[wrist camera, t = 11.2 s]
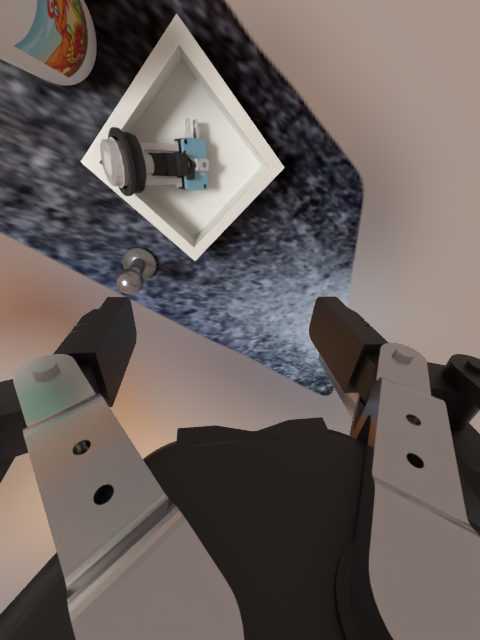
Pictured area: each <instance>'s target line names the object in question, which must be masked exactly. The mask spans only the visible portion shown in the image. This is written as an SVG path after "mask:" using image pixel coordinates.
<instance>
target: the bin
mask: <svg viewBox="0 0 480 640" xmlns="http://www.w3.org/2000/svg"><path fill="white" fill-rule="evenodd" d="M186 118H189V119H190V131H191V136H192V138H193V133H194V132H193V120H194V119H197V122H198V132H199V139H204V140H205V142H206V159H208V161H209V170H208V171H207V180H208V188H207V189H206V190H184V189H179V187H176V186H175V184H173V185H145V190H144V191H143V192H142V193H133V195H132V196H125V195H123V194H122V192H121V191H120V189H119V187H118V186H112V185H111V184H110V183H109V181H108V179H107V177H106V175H105V171H104V168H103V165H102V159H101V154H100V143H101V140H102V139H108V134H109V130H110V128H112V127H117V128H119V129H120V130H121V131H122V132H128V133H131V134H133V135H135V136H136V137H137V139H138V141H139V142H152V143H166V144H171V141H174V140H175V139H179V138H186V136H185V132H186V127H185V119H186ZM187 127H188V122H187ZM195 128H196V123H195ZM144 151H145V154H148V153H174V152H169V151H150V150H144ZM81 163H82V164H83V165H85V166H86V167H87V168H88V169H89V170H90V171H92V172H93V173H94V174H95V175H96V176H97V177H98V178H100V179H101V180H102V181H103V182H104V183H105V184H107V185H108V186H109V187H110V188H111V189H112V190H113V191H115V192H116V193H117V194H118V195H119V196H120V197H122V198H123V199H124V200H125V201H126V202H127V203H128V204H130V205H131V206H132V207H133V208H134V209H135V210H137V211H138V212H139V213H140V214H141V215H142V216H143V217H145V218H146V219H147V220H148V221H149V222H150V223H152V224H153V225H154V226H155V227H156V228H157V229H158V230H160V231H161V232H162V233H163V234H164V235H165V236H167V237H168V238H169V239H170V240H171V241H172V242H173V243H175V244H176V245H177V246H178V247H179V248H180V249H182V250H183V251H184V252H185V253H186V254H187V255H188V256H190V257H191V258H192V259H193V260H194V261H196V260H197V259H198V258H199V257H200V256H201V255H202V253H203V252H204V251H205V250H206V249H207V248H208V247H209V246H210V245H211V244H212V243H213V242H214V241H215V240H216V239H217V238H218V237H219V236H220V235H221V234H222V233H223V232H224V230H225V229H226V228H227V227H228V226H229V225H230V224H231V223H232V222H233V221H234V220H235V219H236V218H237V217H238V216H239V215H240V214H241V213H242V212H243V211H244V210H245V209H246V207H247V206H248V205H249V204H250V203H251V202H252V201H253V200H254V199H255V198H256V197H257V196H258V195H259V194H260V193H261V192H262V191H263V190H264V189H265V188H266V187H267V186H268V184H269V183H270V182H271V181H272V180H273V179H274V178H275V177H276V176H277V175H278V174H279V173H280V172H281V171H282V170H283V169H284V166H283V165H282V163H281V162H280V160H279V159H278V158H277V156H276V155H275V153H274V152H273V150H272V149H271V148H270V146H269V145H268V143H267V142H266V140H265V139H264V138H263V136H262V135H261V133H260V132H259V130H258V129H257V127H256V126H255V125H254V123H253V122H252V120H251V119H250V117H249V116H248V115H247V113H246V112H245V110H244V109H243V107H242V106H241V105H240V103H239V102H238V100H237V99H236V97H235V96H234V95H233V93H232V92H231V90H230V89H229V87H228V86H227V85H226V83H225V82H224V80H223V79H222V77H221V76H220V75H219V73H218V72H217V70H216V69H215V67H214V66H213V65H212V63H211V62H210V60H209V59H208V57H207V56H206V55H205V53H204V52H203V50H202V49H201V47H200V46H199V45H198V43H197V42H196V40H195V39H194V37H193V36H192V35H191V33H190V32H189V30H188V29H187V27H186V26H185V25H184V23H183V22H182V20H181V19H180V17H179V16H178V15H177V14H176V15H175V17H174V18H173V20H172V21H171V23H170V24H169V26H168V28H167V29H166V31H165V32H164V34H163V35H162V37H161V38H160V40H159V41H158V43H157V45H156V46H155V48H154V49H153V51H152V52H151V54H150V55H149V57H148V58H147V60H146V62H145V63H144V65H143V66H142V68H141V69H140V71H139V72H138V74H137V75H136V77H135V79H134V80H133V82H132V83H131V85H130V86H129V88H128V89H127V91H126V92H125V94H124V96H123V97H122V99H121V100H120V102H119V103H118V105H117V106H116V108H115V109H114V111H113V113H112V114H111V116H110V117H109V119H108V120H107V122H106V123H105V125H104V126H103V128H102V130H101V131H100V133H99V134H98V136H97V137H96V139H95V140H94V142H93V144H92V145H91V147H90V148H89V150H88V151H87V153H86V154H85V156H84V157H83V159H82V161H81ZM148 178H177V176H152V175H151V174H149V176H148Z"/></svg>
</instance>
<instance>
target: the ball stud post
mask: <svg viewBox="0 0 480 640" xmlns="http://www.w3.org/2000/svg"><path fill="white" fill-rule="evenodd" d="M122 264H123V267H124V269H125V270H123V271H121V272H120V273H119V274H118V276H117V279H116V282H117V286H118V288H119V289H120V290H121V291H122V292H124V293H127V294H135V293H137V292H139V291H140V290H141V289H142V287H143V284H144V280H143V279H146V278H149V277H151V276H152V275H153V274H154V272H155V270H156V266H157V263H156V259H155V257H154V256H153V254H152V253H151V252H150V251H148V250H146V249H144V248H141V247H134V248H131V249H129V250H128V251H127V252H126V253H125V254H124V256H123V259H122Z"/></svg>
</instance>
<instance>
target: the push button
mask: <svg viewBox="0 0 480 640" xmlns="http://www.w3.org/2000/svg"><path fill="white" fill-rule="evenodd" d="M187 122H188V127H187ZM195 123H196V128H195ZM185 127H186V132H185V136H186V138H179V139H175V140H174V141H171V144H166V143H152V142H139V141H138V139H137V137H136V136H135V135H133V134H131V133H128V132H122V131H121V130H120V129H119V128H117V127H112V128H110V130H109V134H108V139H102V140H101V143H100V154H101V159H102V165H103V168H104V171H105V175H106V177H107V179H108V181H109V183H110V184H111V185H112V186H118V187H119V189H120V191H121V192H122V194H123V195H125V196H132V195H133V193H142V192H143V191H144V190H145V185H173V184H175V186H176V187H179V189H184V190H206V189H207V188H208V180H207V171H208V170H209V161H208V159H206V142H205V140H204V139H199V132H198V122H197V119H194V120H193V132H194V133H193V138H192V136H191V131H190V119H189V118H186V119H185ZM144 150H150V151H169V152H174V153H148V154H145V151H144ZM149 174H151V175H152V176H177V178H148V176H149Z"/></svg>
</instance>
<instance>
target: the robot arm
mask: <svg viewBox="0 0 480 640" xmlns="http://www.w3.org/2000/svg"><path fill="white" fill-rule="evenodd" d="M309 335H310V338H311V340H312V342H313V344H314V345H315V347H316V348H317V350H318V352H319V353H320V355H319V361H320V363H321V365H322V367H323V369H324V370H325V372H326V374H327V376H328V378H329V379H330V381H331V383H332V385H333V386H334V388H335V390H336V391H337V393H338V395H339V397H340V398H341V400H342V402H343V404H344V405H345V407H346V409H347V411H348V412H349V414H350V416H351V417H352V419H353V420H352V425H351V430H350V435H349V436H348V435H346V434H343V433H340V432H337V431H333V430H329V429H327V427H326V424H325V422H324V421H323V418H309V419H297V420H287V421H285V422H282V423H279V424H276V425H273V426H270V427H267V428H264V429H262V430H259V431H247V430H240V429H233V428H227V427H221V426H205V427H193V428H192V427H191V428H178V432H177V441H175V442H172V443H169V444H167V445H165V446H163V447H161V448H159V449H157V450H156V451H154V452H152V453H151V454H149V455H148V456H147V457H145V458H144V459H142V457H141V456H140V454H139V453H138V451H137V450H136V448H135V446H134V445H133V443H132V442H131V440H130V439H129V437H128V436H127V434H126V433H125V431H124V429H123V428H122V426H121V425H120V423H119V422H118V420H117V419H116V417H115V416H114V414H113V412H112V411H111V409H110V408H109V407H112V406H113V404H114V401H115V398H116V396H117V393H118V390H119V387H120V385H121V382H122V379H123V377H124V374H125V371H126V368H127V366H128V363H129V360H130V358H131V355H132V352H133V349H134V347H135V344H136V327H135V322H134V316H133V311H132V306H131V301H130V299H129V297H108V298H107V299H106V300H105V302H104V303H103V304H102V306H101V307H100V309H94V310H92V311H90V312H89V313H87V314H86V315H84V316H83V317H82V318H81V319H80V320H79V322H78V323H77V326H75V327H74V328H73V330H72V331H71V333H69V335H68V336H67V337H66V338H65V340H64V341H63V342H62V343H61V345H60V346H59V347H58V349H57V350H56V351H55V352H54V354H52V355H47V356H43V357H40V358H37V359H35V360H33V361H31V362H29V363H27V364H26V365H24V366H23V367H21V368H20V369H19V370H18V371H17V373H16V374H15V376H14V378H13V379H11V380H7V381H3V382H0V482H1V481H2V479H3V477H4V476H5V474H6V472H7V470H8V469H9V467H10V465H11V463H12V462H13V460H14V458H15V457H16V456H19V455H22V454H25V453H29V456H30V459H31V463H32V466H33V470H34V473H35V477H36V480H37V484H38V487H39V491H40V494H41V498H42V501H43V505H44V508H45V512H46V515H47V519H48V522H49V526H50V529H51V533H52V536H53V540H54V543H55V547H56V550H57V553H56V554H55V555H54V556H53V557H52V558H51V559H50V560H49V561H48V562H47V564H46V565H45V566H44V567H43V568H42V569H41V570H40V572H38V574H37V575H36V576H35V577H34V578H33V579H32V580H31V581H30V582H29V583H28V585H27V586H26V587H25V588H24V589H23V590H22V591H21V592H20V594H19V595H18V596H17V597H16V598H15V599H14V600H13V601H12V602H11V603H10V604H9V606H8V607H7V608H6V609H5V610H4V611H3V612H2V613H1V614H0V640H480V434H479V433H478V432H477V431H476V430H475V429H474V428H473V427H472V426H471V425H470V424H469V422H470V421H471V420H472V418H473V417H474V416H475V415H476V414H477V413H478V412H479V410H480V359H478V358H475V357H472V356H468V355H461V354H456V355H453V356H451V358H450V359H449V361H448V363H447V364H446V365H440V364H434V363H428V362H426V359H425V358H424V357H423V356H422V355H421V354H420V353H419V352H417V351H415V350H414V349H412V348H410V347H407V346H404V345H401V344H397V343H388V342H387V341H386V340H385V339H384V338H383V337H382V336H381V335H380V334H379V333H378V332H377V331H376V330H374V329H373V328H372V327H370V325H369V324H368V323H367V322H366V321H364V319H363V318H362V317H361V316H360V315H359V314H358V313H356V312H355V311H352V310H351V309H349V308H347V307H346V306H345V305H344V304H343V303H342V302H341V301H340V300H339V299H338V298H337V297H318V298H317V300H316V302H315V306H314V310H313V314H312V318H311V322H310V327H309Z"/></svg>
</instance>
